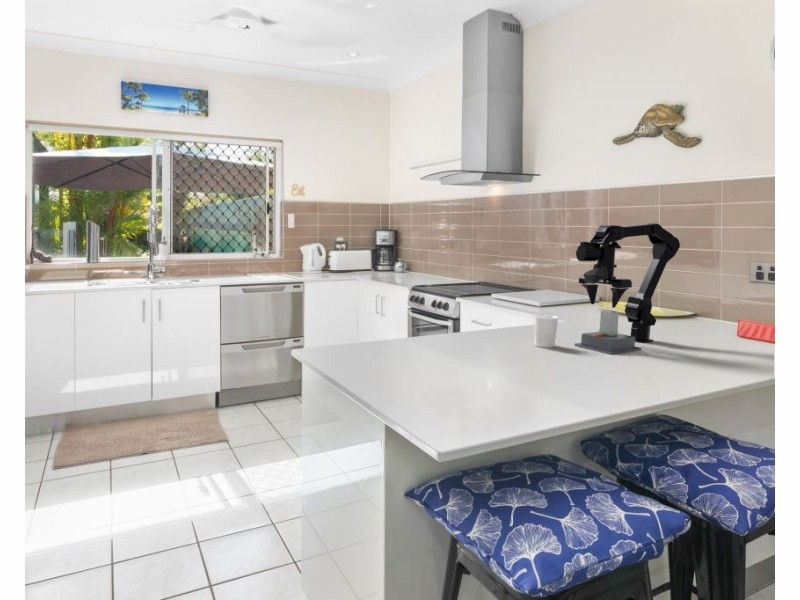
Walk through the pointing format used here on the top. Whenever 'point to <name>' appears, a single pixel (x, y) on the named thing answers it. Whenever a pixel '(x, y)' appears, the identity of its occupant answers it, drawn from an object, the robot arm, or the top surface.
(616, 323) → the column
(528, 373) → the top surface
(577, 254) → the robot arm
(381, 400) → the top surface
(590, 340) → the housing
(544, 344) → the white cup
